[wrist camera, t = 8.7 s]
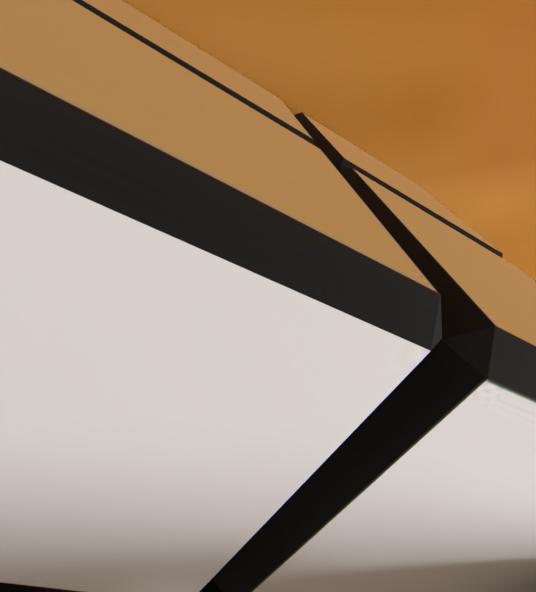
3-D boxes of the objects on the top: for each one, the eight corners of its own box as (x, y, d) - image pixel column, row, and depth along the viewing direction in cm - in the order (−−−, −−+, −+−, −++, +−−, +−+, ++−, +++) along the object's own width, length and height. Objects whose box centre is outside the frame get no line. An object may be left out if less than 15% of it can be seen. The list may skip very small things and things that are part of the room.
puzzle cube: (267, 393, 17) (312, 731, 9) (9, 309, 14) (-294, 733, 6) (424, 187, 13) (786, 480, 5) (106, -12, 10) (-635, -219, 1)
